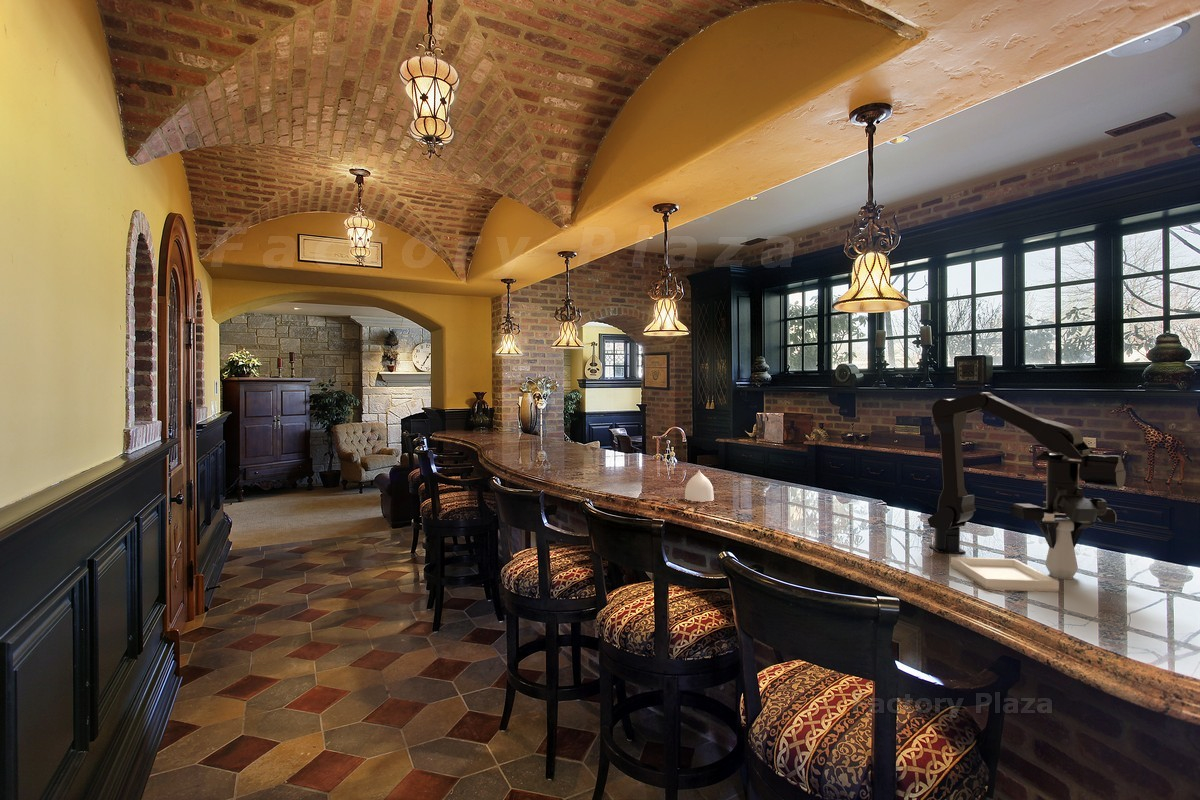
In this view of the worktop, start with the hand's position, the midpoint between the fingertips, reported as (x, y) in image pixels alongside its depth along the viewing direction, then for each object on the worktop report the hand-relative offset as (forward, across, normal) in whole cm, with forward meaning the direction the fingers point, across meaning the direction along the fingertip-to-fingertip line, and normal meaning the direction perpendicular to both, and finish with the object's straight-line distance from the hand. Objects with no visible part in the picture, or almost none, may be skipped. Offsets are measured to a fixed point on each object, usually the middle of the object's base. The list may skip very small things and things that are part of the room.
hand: (1061, 550), depth 131 cm
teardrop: (+6, -78, +80) cm, 112 cm away
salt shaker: (+6, 0, 0) cm, 6 cm away
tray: (+6, -14, -3) cm, 15 cm away
